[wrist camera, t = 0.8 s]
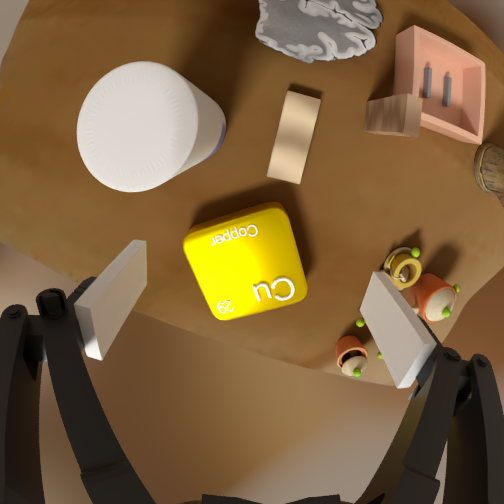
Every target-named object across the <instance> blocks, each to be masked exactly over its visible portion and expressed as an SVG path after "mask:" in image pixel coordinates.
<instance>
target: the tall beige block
mask: <svg viewBox="0 0 504 504" xmlns="http://www.w3.org/2000/svg"><path fill="white" fill-rule="evenodd" d="M422 101H423V99H422V98H419V97H416V96H414V95H411V94H408V93H406V94H401V95H396V96H391V97H386V98H381V99H376V100H372V101H367V107H366V116H365V124H364V131H366V132H370V133H374V134H384V135H397V136H408V137H418V138H419V130H420V122H421V112H422Z"/></svg>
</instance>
